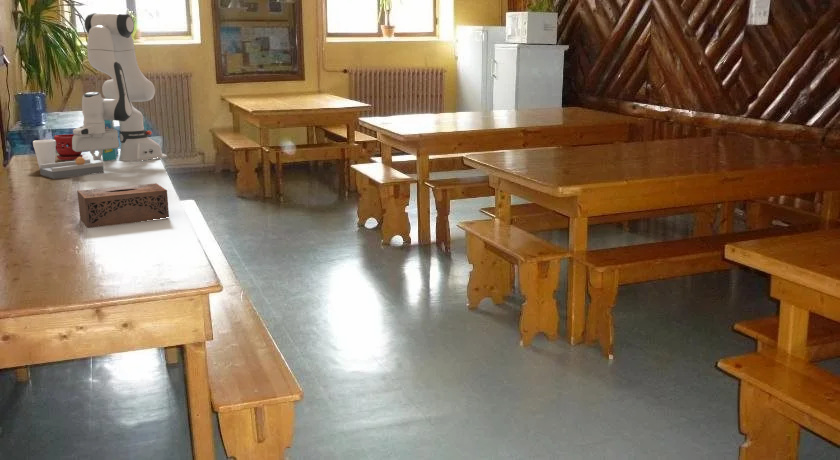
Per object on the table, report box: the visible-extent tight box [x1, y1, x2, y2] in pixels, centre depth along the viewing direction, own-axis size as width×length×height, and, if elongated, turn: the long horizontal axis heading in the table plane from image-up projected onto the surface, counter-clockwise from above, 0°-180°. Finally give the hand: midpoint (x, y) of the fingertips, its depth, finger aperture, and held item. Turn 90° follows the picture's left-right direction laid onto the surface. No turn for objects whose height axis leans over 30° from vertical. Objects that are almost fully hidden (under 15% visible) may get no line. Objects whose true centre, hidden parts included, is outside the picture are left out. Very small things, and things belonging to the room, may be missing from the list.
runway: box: [39, 158, 105, 180], centre depth 356 cm, size 22×14×4 cm, turn 135°
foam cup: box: [32, 139, 57, 169], centre depth 367 cm, size 10×9×13 cm
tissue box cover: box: [76, 182, 170, 229], centre depth 270 cm, size 26×14×10 cm, turn 121°
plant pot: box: [53, 133, 84, 162], centre depth 396 cm, size 13×13×12 cm
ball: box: [74, 157, 86, 165], centre depth 359 cm, size 4×4×4 cm
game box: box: [101, 120, 119, 162], centre depth 399 cm, size 20×6×27 cm, turn 17°
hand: (97, 160), depth 364 cm, fingers closed
